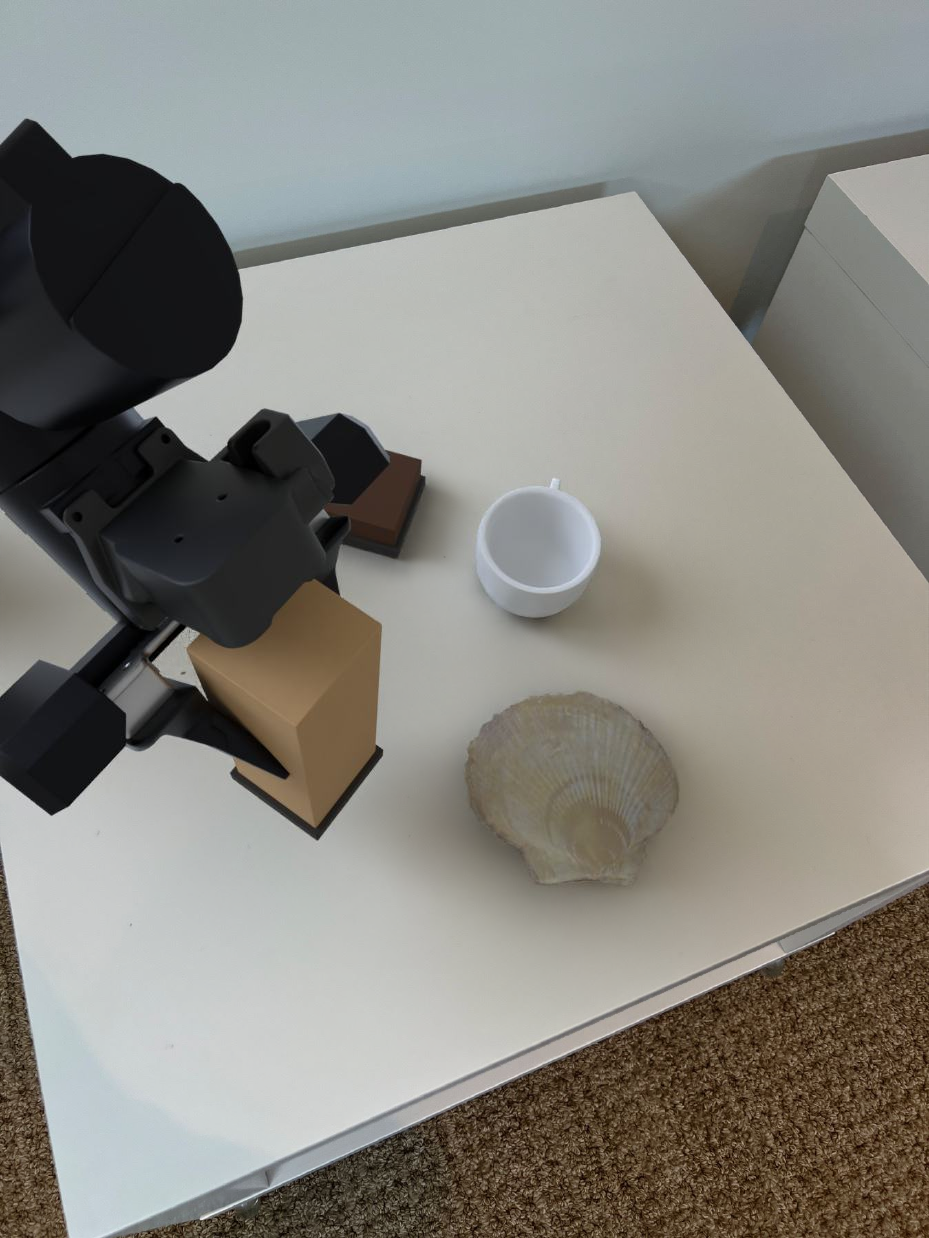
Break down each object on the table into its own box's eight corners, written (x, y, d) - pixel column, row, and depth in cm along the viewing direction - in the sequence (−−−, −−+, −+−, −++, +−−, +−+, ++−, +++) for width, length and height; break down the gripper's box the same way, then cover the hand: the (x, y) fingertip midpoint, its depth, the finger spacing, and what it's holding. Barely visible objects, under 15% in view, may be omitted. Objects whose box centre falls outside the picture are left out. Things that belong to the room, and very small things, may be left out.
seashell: (550, 664, 55) (558, 644, 52) (700, 786, 52) (716, 771, 50) (427, 796, 51) (428, 781, 48) (583, 937, 48) (594, 930, 45)
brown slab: (241, 515, 58) (234, 488, 56) (277, 443, 61) (272, 414, 59) (397, 559, 58) (397, 535, 55) (425, 484, 61) (427, 457, 58)
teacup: (570, 647, 56) (588, 608, 51) (456, 615, 56) (463, 573, 51) (600, 524, 60) (619, 478, 56) (495, 495, 61) (504, 447, 56)
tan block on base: (317, 841, 44) (297, 739, 29) (231, 778, 45) (172, 650, 30) (383, 755, 46) (394, 622, 32) (300, 697, 47) (275, 543, 33)
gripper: (-147, 664, 20) (272, 989, 28) (348, 241, 28) (566, 586, 36) (-186, 629, 28) (144, 886, 36) (203, 312, 36) (405, 579, 44)
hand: (322, 728), depth 38 cm, fingers closed on tan block on base, 5 cm apart
